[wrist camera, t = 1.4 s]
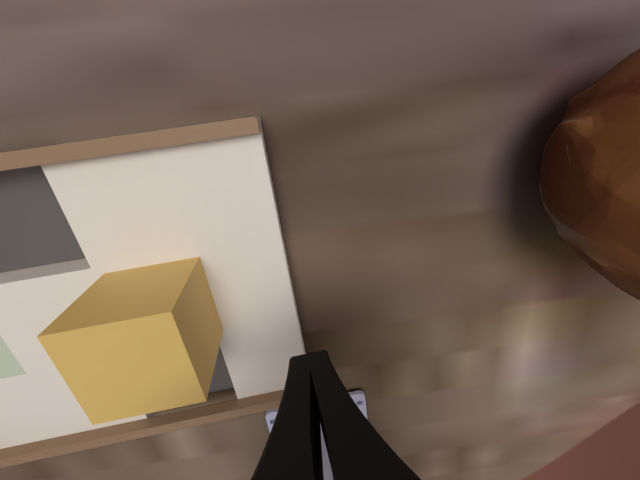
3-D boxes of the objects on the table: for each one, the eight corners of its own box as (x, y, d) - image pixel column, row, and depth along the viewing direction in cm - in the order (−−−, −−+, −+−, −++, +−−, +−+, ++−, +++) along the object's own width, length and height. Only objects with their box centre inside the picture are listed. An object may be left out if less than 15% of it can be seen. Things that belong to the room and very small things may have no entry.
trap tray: (308, 369, 23) (314, 414, 20) (2, 432, 22) (-50, 493, 18) (259, 115, 16) (255, 116, 13) (-204, 182, 14) (-355, 203, 11)
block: (223, 330, 19) (206, 401, 14) (138, 346, 18) (92, 424, 14) (199, 256, 17) (170, 311, 12) (104, 273, 16) (36, 336, 12)
